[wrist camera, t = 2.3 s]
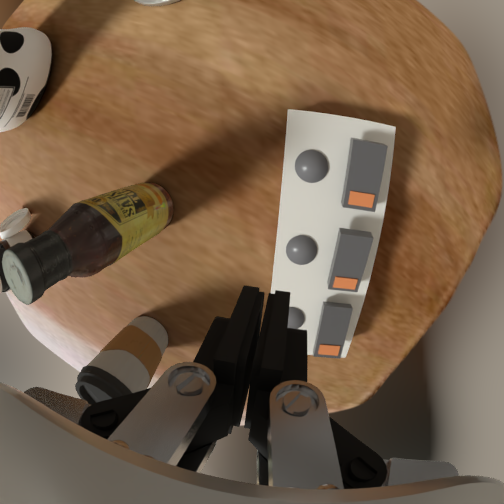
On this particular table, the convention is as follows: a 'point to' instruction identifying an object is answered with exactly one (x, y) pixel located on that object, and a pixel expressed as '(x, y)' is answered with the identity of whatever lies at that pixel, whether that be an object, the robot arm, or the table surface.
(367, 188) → the rocker
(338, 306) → the rocker
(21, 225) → the spread jar
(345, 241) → the rocker middle
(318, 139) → the rocker switch panel
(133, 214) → the sauce bottle
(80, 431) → the robot arm
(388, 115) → the table surface
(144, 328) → the coffee cup
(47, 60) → the milk container
